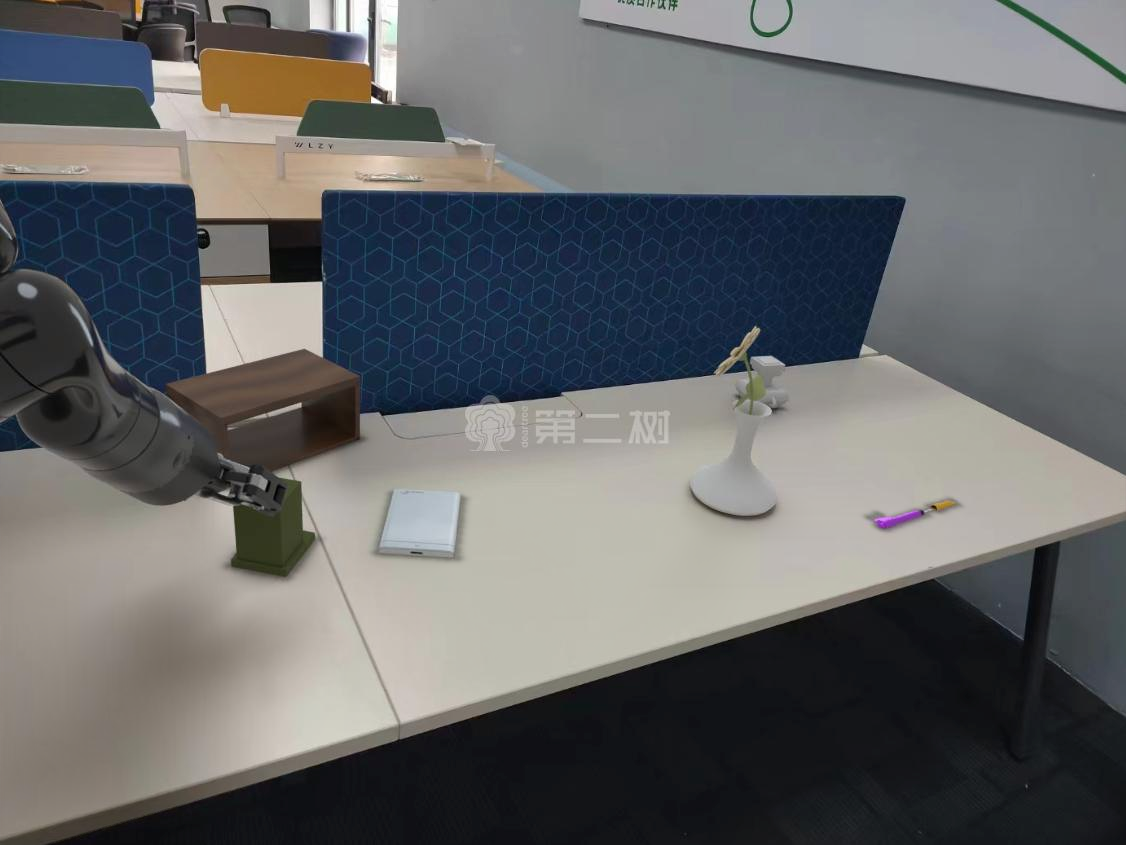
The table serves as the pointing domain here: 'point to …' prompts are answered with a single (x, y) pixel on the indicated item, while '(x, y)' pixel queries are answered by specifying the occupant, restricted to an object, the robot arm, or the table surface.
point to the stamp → (766, 381)
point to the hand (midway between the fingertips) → (230, 497)
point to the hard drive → (421, 523)
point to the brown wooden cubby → (275, 408)
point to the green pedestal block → (272, 535)
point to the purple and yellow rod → (909, 515)
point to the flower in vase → (739, 453)
